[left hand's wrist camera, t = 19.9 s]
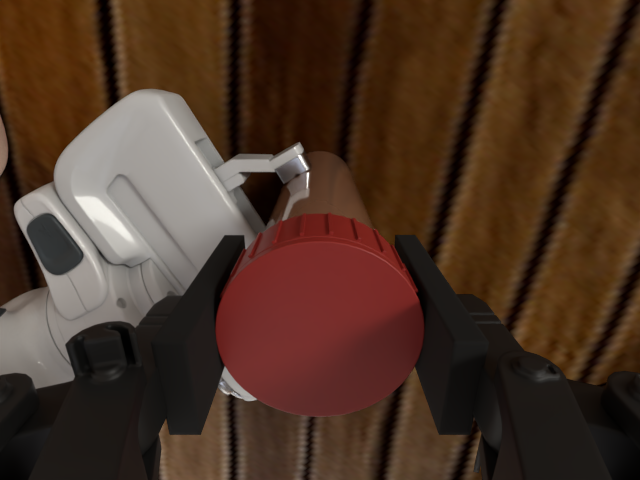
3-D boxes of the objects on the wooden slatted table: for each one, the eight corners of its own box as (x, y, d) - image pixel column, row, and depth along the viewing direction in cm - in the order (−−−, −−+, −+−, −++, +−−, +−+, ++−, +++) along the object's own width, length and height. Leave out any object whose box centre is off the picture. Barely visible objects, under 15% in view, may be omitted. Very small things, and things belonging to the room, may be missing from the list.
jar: (273, 175, 27) (202, 297, 11) (329, 136, 26) (344, 205, 10) (311, 227, 29) (299, 403, 12) (365, 193, 28) (431, 334, 11)
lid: (444, 292, 12) (471, 334, 10) (323, 391, 14) (323, 447, 12) (315, 171, 11) (314, 190, 8) (196, 298, 12) (169, 342, 10)
